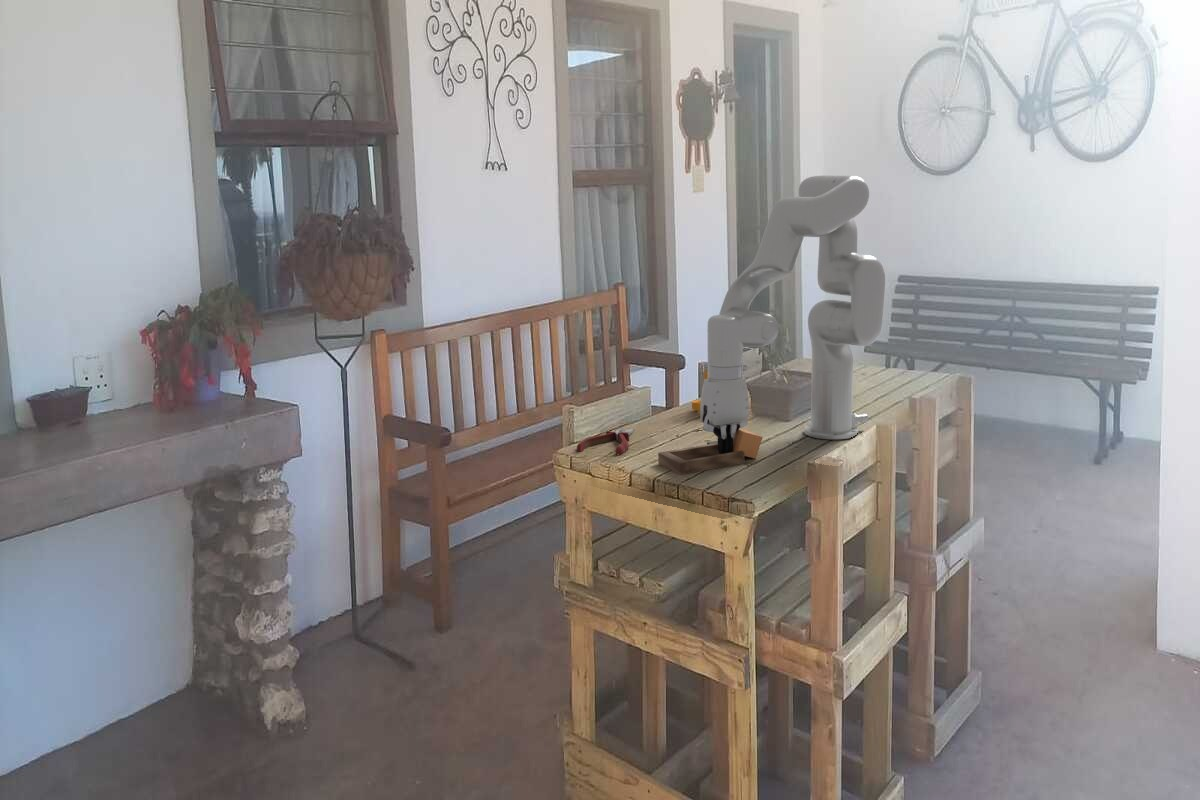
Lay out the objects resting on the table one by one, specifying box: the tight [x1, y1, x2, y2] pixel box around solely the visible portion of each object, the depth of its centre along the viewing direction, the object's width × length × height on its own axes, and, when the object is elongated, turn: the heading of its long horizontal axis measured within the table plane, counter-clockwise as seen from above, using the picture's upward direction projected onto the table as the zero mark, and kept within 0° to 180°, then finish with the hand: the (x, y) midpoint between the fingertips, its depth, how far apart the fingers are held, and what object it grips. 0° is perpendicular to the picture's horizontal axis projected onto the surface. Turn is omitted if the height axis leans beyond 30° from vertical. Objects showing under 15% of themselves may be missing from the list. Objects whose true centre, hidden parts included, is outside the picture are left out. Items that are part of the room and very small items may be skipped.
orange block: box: [732, 428, 763, 459], centre depth 229 cm, size 5×5×5 cm
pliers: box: [576, 427, 636, 456], centre depth 244 cm, size 12×20×3 cm, turn 158°
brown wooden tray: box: [657, 443, 745, 475], centre depth 225 cm, size 16×9×2 cm, turn 116°
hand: (725, 454), depth 228 cm, fingers closed
